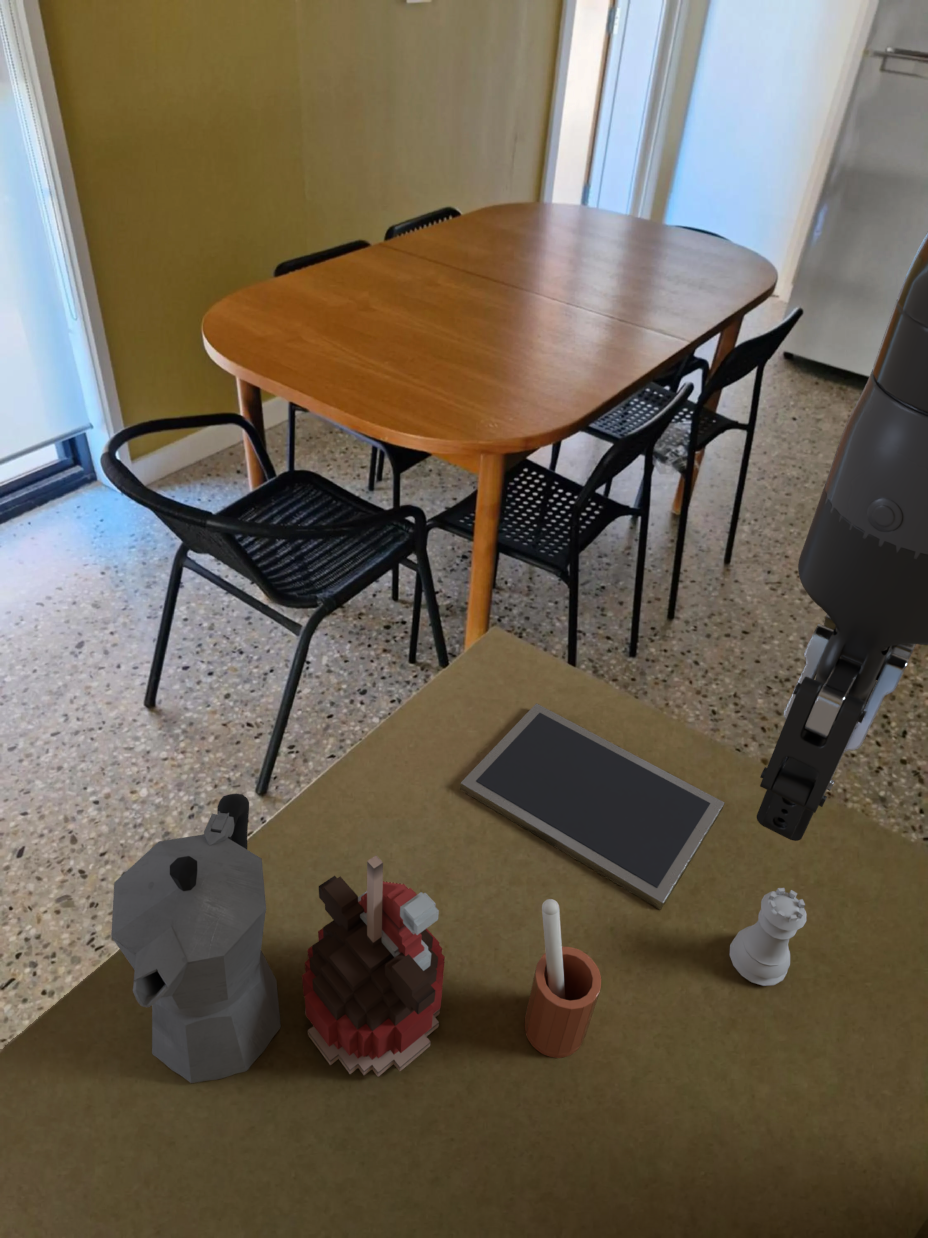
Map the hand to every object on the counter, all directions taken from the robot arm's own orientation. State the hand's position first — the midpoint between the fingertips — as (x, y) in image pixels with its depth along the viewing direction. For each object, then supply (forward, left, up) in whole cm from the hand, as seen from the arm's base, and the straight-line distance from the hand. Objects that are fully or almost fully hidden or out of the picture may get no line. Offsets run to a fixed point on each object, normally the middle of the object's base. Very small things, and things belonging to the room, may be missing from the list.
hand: (807, 774), depth 45 cm
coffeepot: (+28, +18, -29) cm, 44 cm away
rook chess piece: (-2, -9, -29) cm, 31 cm away
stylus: (+7, +5, -28) cm, 30 cm away
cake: (+19, +12, -29) cm, 37 cm away
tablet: (+16, -15, -29) cm, 37 cm away
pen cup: (+8, +5, -29) cm, 30 cm away
